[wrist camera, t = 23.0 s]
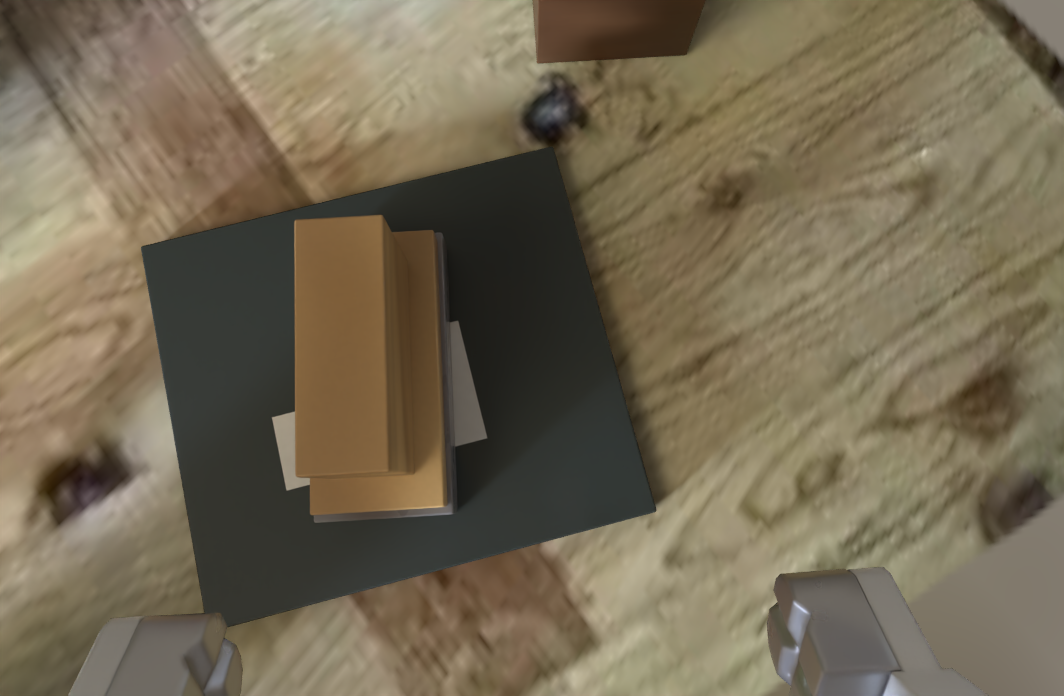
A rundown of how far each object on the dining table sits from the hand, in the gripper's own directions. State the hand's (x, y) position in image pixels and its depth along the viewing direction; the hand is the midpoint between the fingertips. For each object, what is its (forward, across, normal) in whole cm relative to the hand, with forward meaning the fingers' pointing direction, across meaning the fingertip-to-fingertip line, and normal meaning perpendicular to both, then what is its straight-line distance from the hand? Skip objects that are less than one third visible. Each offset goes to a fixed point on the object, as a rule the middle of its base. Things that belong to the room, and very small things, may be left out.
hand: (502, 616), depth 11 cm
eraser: (+18, +5, +9) cm, 21 cm away
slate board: (+19, +5, +9) cm, 21 cm away
